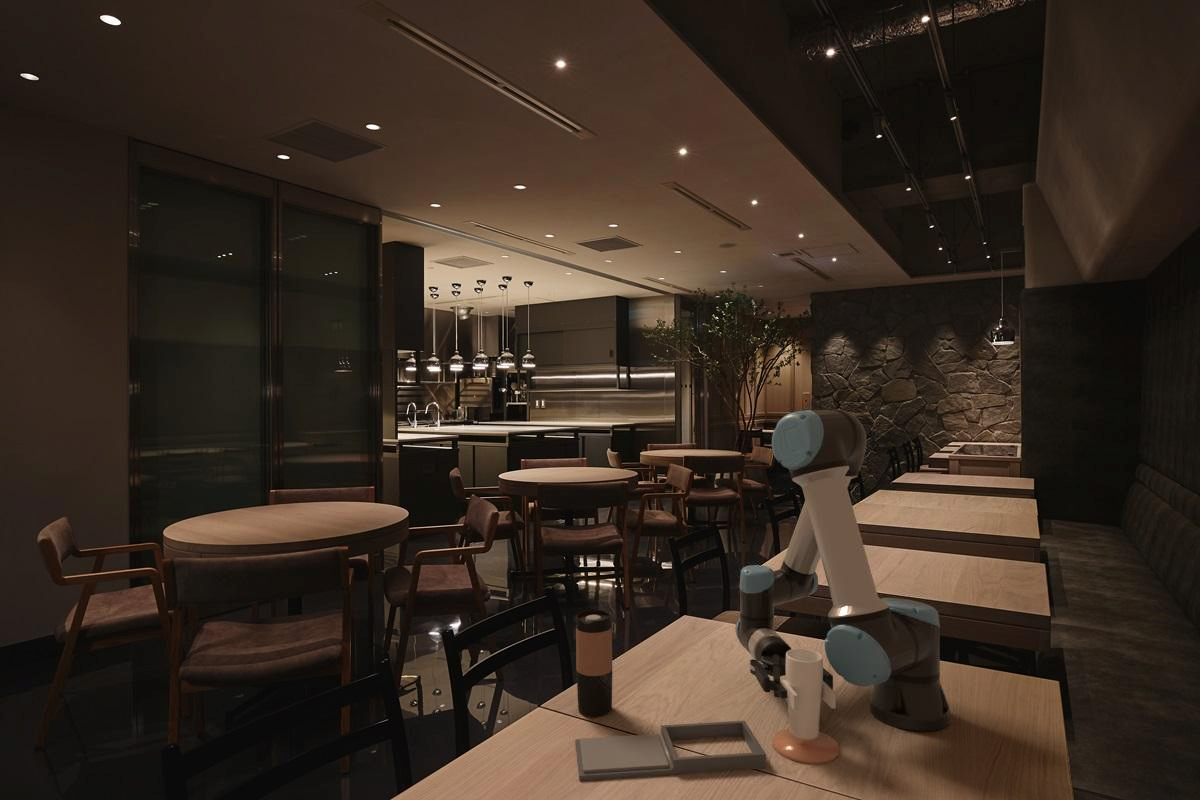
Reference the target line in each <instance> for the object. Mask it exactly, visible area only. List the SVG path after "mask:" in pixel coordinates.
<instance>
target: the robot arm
mask: <svg viewBox="0 0 1200 800" xmlns="http://www.w3.org/2000/svg"><path fill="white" fill-rule="evenodd" d="M771 449H772V453H773V456H774V458H775V459H776V461H777V462H778V463H779V464H781V466H782V467H784V468H787V470H789V473H790V477H791V481H792V482H794V483H796V484H798V485H799V486H800V487H801V489H802V492H803V496H804V503H803V506H802V509H801V510H800V514H799V517H798V519H797V521H796V522H797V523H796V525H795V527H794V531H793V533H792V536H791V539H790V542H789V545H788V547H787V550H786V553H785V556H784V559H783V561H782V564H781V565H780V566H781V567H780V568H779V569H777V570H773V569H772V568H771V567H769V566H767V565H761V564H760V565H759V564H754V565H753V564H752V565H746V566H744V567H742V569H740V577H739V579H740V580H739V596H740V597H739V598H740V599H739V600H740V601H739V603H740V604H739V610H740V613H739V618H738V620H737V621H736V623H735V631H734V632H735V634H736V637H737V639H738V640H739V643H740V645H741V646H742V648H745V650H746V651H747V652H748V654H750V656H751V657H752V658H751V659H750V660H749V672H750V674H752V675H753V676H755V678H756V680H757V681H758V683H759V685H760V687H761V689H762V690H763V692H765V693H770V692H771V691H773V696H774V697H775V698H780V699H782V700H783V699H784V700H785V701H786V702H787V704H788V703H789V705H790V706H791V707H792V709H793V710H798V695H797V694H796V692H795V691H794V690H793V689H792V688H791V686H790V685H789V684H787V682H786V679H781V677H784V676H786V673H785V662H786V652H787V651H789V650H792V647H791V645H789V644H788V643H787V642H786V641H785V640H784V639H783V638H782V637H781V635H779V634H778V633H777V631H775V630H774V629H775V625H774V624H775V621H774V620H775V606H779V605H783V604H785V603H789V602H792V601H796V600H802V599H805V598H807V597H808V596H811V595H813V594H814V593H815V592H816V591H817V589H818V587H819V576H818V574H817V572H816V570H817V567H818V565H819V562H820V560H821V563H822V567H823V570H824V574H825V578H826V581H827V585H828V589H829V593H830V597H831V601H832V607H831V608H830V610H829V612H828V614H827V615H828V620H829V624H830V627H831V629H830V630H829V631H828V632H827V634H826V638H825V639H824V653H825V655H826V658H827V661H828V663H829V664H830V667H832V669H833V670H834V671H835V673H836V674H837V675H838V676H841V678H843V679H844V680H845V681H846V682H847V683H849V684H851V685H854V686H856V687H863V688H865V687H866V688H867V687H871V686H872V688H871V692H870V694H869V698H868V699H869V700H868V701H869V702H868V704H869V711H870V713H871V714H872V715H873V716H874V717H875V718H876V719H878V720H879V721H880V722H883V723H885V724H887V725H891V726H893V727H895V728H899V729H903V730H907V731H915V732H935V731H939V730H943V729H945V728H946V727H948V726H949V725H950V722H951V711H950V705H949V704H948V703H949V702H948V700H947V698H946V694H945V692H944V688H943V687H942V683H941V672H940V671H941V665H940V663H941V659H940V656H941V654H940V653H941V652H940V648H941V645H940V644H941V643H940V638H941V637H940V629H941V625H940V619H939V618H940V617H939V616H940V615H939V612H938V611H937V609H936V608H935V607H933V606H932V605H930V604H927V603H924V602H919V601H916V600H911V599H905V598H898V597H883V598H882V597H881V598H880V597H879V595H878V592H877V588H876V584H875V581H874V578H873V574H872V571H871V568H870V563H869V560H868V556H867V554H866V550H865V546H864V543H863V540H862V536H861V532H860V529H859V525H858V524H859V523H858V521H857V518H856V514H855V511H854V507H853V504H852V501H851V497H850V494H849V490H848V487H849V486H850V483H851V480H852V479H855V478H857V477H858V475H859V473H860V470H861V468H862V466H863V462H864V459H865V455H866V450H867V433H866V429H865V428H864V426H863V424H862V423H861V421H860V420H859V419H858V418H857V417H856V416H855V415H854V414H852V413H851V412H849V411H846V410H842V409H838V408H837V409H833V408H832V409H817V410H816V409H811V410H809V409H803V410H798V411H793V412H790V413H788V414H786V415H784V416H783V417H782V418H780V419H779V420H778V422H777V423H776V426H775V429H774V430H773V432H772V436H771ZM770 677H772V678H773V680H772V679H771V678H770ZM821 700H823V701H824V702H825V703H826V704H827V705H828V706H829V708H831V709H836V707H837V705H836V703H837V702H836V692H835V691H834V675H833V674H831V673H830V672H829V671H828V670H826V668H824V667H823V684H822V695H821ZM948 724H949V725H948Z"/></svg>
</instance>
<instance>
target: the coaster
mask: <svg viewBox="0 0 1200 800" xmlns="http://www.w3.org/2000/svg"><path fill="white" fill-rule="evenodd" d="M771 741H772V748H773V749H774V750H775V751H776V752H777V754H779V755H781V756H782V757H784V758H786V759H788V760H791V761H794V762H797V763H801V764H809V765H820V764H828V763H830V762H832V761H834V760H836V759H837V758H838V757H839V755H840V745H839V744H838V742H837V740H835V739H834V738H833V737H831V736H830V735H828V734H826V733H824V732H822V731H819V734H818V736H817V738H815V739H812V740H802V739H799V738H796V737H794V736H793V735H792V734H791V733H790V730H789V728H785V729H782V730H779V731H778V732H776V733H774V734H773V736H772V740H771Z"/></svg>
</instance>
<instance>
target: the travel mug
mask: <svg viewBox="0 0 1200 800" xmlns="http://www.w3.org/2000/svg"><path fill="white" fill-rule="evenodd" d="M575 625H576V626H575V638H576V639H575V641H576V642H575V650H576V651H575V652H576V653H575V655H576V656H575V657H576V659H575V660H576V663H575V664H576V665H575V666H576V687H577V688H576V689H577V691H576V692H577V709H578V712H579V713H580V715H582V714H583V716H584V715H585V716H584V717H588V716H589V717H588V718H598V716H601V717H604V716H603V715H605V716H607V715H608V713H609V712H610V711H611V712H612V708H613V639H612V638H613V637H612V636H613V635H612V630H613V629H612V615H611V613H610V612H608V611H606V610H599V609H590V610H589V609H588V610H584V611H580V612H578V613H577V614H576V617H575ZM611 712H610V713H611ZM610 713H609V714H610ZM606 714H607V715H606Z"/></svg>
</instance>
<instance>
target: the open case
mask: <svg viewBox="0 0 1200 800" xmlns="http://www.w3.org/2000/svg"><path fill="white" fill-rule="evenodd" d="M739 736H742V738H743V739H744V741H745V743H746V744H747V746H748V748H749V749H750V751H751V752H741V753H740V752H739V753H728V754H727V753H725V754H724V753H723V754H712V755H711V754H710V755H697V756H696V755H695V756H694V755H693V756H691V755H690V756H680V757H679V756H677V753H676V751H675V748H674V745H673V743H672V741H674V740H675V741H676V740H692V739H706V738H709V739H710V738H723V737H724V738H726V737H739ZM574 743H575V744H574V745H575V753H577V754H576V762H577V771H578V780H580V781H590V780H589V779H595V780H608V779H609V780H610V779H621V778H623V779H624V778H625V779H626V778H638V777H654V776H668V775H682V774H683V775H685V774H698V773H715V772H729V771H730V772H731V771H743V770H744V771H746V770H757V769H760V770H762V769H763V770H764V769H767V753H766V752H765V750H764V749H763V748H762V746H761V744H760V742H759V741H758V739H757V738H756V736H755V735H754V733H753V732H752V729H751V728H750V727H749V725H748V724H747V722H746V720H732V721H730V720H729V721H717V722H716V721H713V722H700V723H699V722H698V723H682V724H681V723H680V724H664V725H660V732H659V733H653V734H652V733H651V734H650V733H649V734H637V735H635V734H634V735H633V734H632V735H621V736H620V735H617V736H616V735H615V736H603V737H600V736H599V737H587V738H586V737H585V738H576V739H575V740H574Z"/></svg>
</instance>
